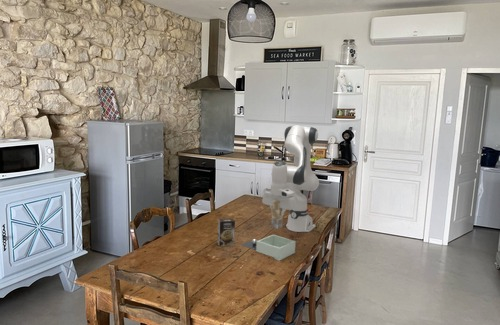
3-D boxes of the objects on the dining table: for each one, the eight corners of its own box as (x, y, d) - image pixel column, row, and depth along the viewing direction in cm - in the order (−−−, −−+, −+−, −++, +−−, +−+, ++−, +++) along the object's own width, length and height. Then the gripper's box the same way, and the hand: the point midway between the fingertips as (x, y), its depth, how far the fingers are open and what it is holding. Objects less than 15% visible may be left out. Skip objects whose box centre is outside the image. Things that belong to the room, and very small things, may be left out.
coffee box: (219, 248, 220) (220, 221, 217) (217, 244, 226) (217, 218, 223) (234, 247, 222) (235, 220, 220) (232, 243, 228) (232, 217, 226)
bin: (272, 245, 227) (273, 234, 226) (294, 252, 217) (295, 241, 216) (256, 252, 215) (256, 241, 214) (279, 260, 205) (279, 248, 204)
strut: (271, 226, 213) (273, 199, 211) (275, 225, 217) (277, 198, 214) (277, 228, 211) (279, 201, 208) (281, 227, 214) (283, 200, 211)
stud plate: (252, 241, 233) (253, 234, 232) (268, 246, 225) (268, 238, 225) (240, 246, 223) (240, 238, 223) (255, 251, 216) (256, 244, 215)
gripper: (260, 188, 214) (259, 211, 216) (290, 194, 202) (289, 219, 204) (267, 186, 219) (266, 209, 221) (297, 192, 207) (295, 217, 209)
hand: (277, 214), depth 212 cm, fingers closed on strut, 4 cm apart
